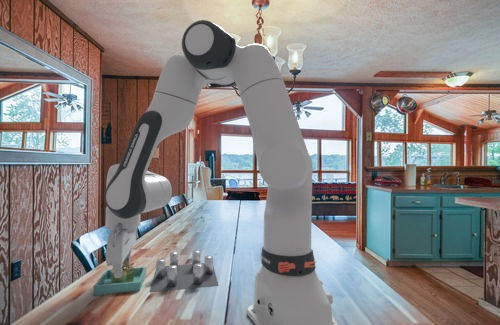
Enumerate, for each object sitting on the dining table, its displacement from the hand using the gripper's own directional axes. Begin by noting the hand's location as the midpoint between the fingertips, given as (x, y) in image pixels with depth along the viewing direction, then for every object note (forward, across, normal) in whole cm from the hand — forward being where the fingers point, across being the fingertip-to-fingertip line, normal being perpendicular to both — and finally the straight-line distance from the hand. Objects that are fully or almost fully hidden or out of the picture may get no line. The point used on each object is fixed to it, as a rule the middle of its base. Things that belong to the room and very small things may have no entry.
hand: (122, 270), depth 75 cm
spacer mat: (+4, +2, -17) cm, 18 cm away
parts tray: (+4, 0, 0) cm, 4 cm away
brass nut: (+4, 0, 0) cm, 4 cm away
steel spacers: (+4, +2, -17) cm, 18 cm away
